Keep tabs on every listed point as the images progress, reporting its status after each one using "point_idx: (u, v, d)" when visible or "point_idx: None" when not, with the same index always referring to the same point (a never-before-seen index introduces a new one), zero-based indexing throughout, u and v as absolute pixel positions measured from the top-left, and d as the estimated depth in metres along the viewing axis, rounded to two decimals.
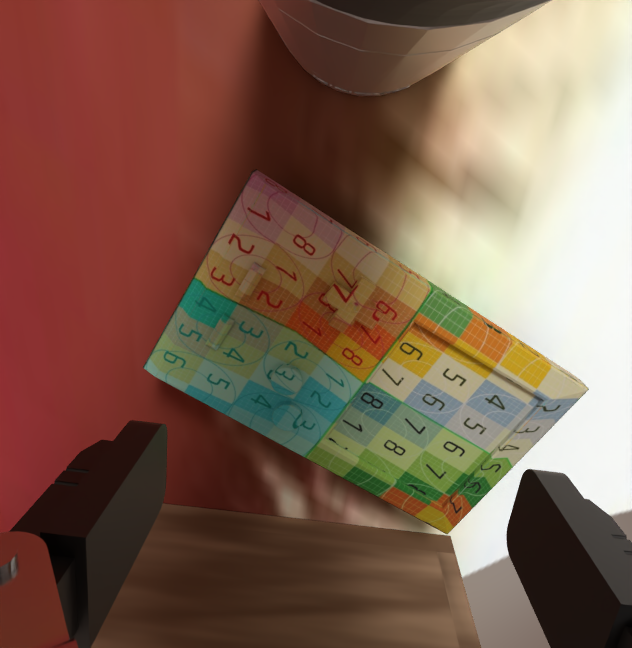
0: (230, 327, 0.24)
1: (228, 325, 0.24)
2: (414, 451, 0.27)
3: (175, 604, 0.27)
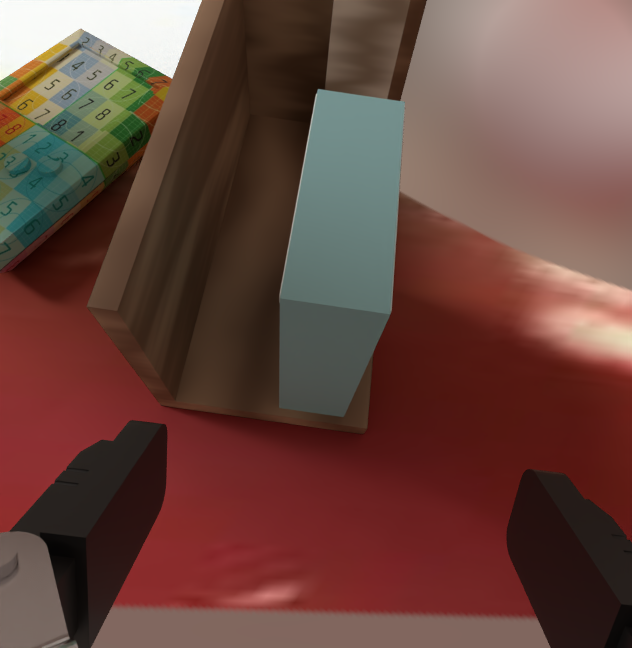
0: None
1: None
2: (108, 104, 0.37)
3: None
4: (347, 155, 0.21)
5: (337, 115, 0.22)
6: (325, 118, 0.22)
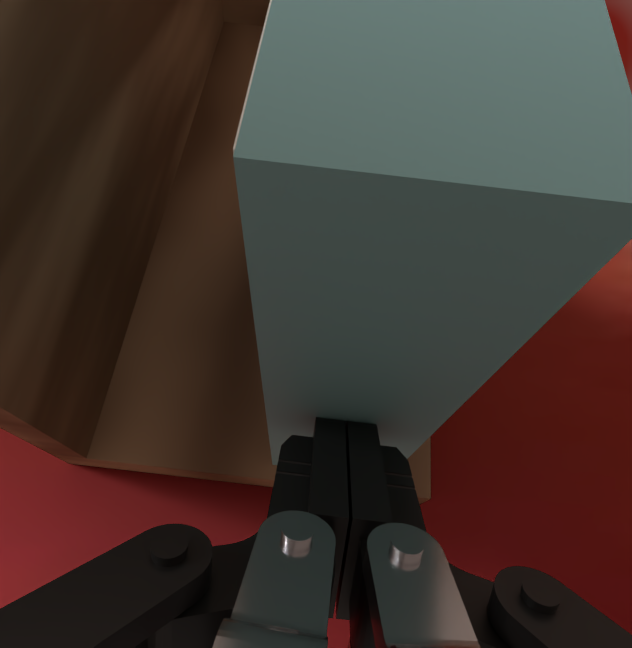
0: None
1: None
2: None
3: None
4: None
5: None
6: None
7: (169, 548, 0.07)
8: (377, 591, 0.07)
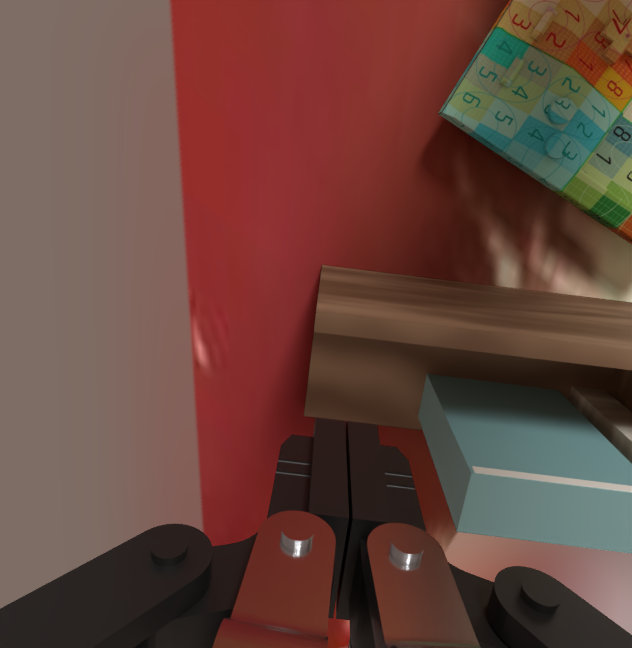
0: (523, 65, 0.32)
1: (523, 61, 0.31)
2: None
3: (457, 302, 0.33)
4: (590, 514, 0.28)
5: None
6: (631, 502, 0.28)
7: (170, 549, 0.07)
8: (377, 591, 0.07)
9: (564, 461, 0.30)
